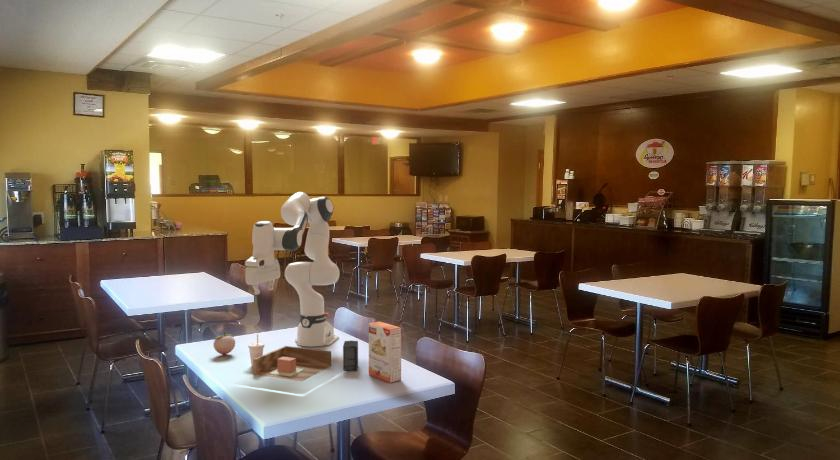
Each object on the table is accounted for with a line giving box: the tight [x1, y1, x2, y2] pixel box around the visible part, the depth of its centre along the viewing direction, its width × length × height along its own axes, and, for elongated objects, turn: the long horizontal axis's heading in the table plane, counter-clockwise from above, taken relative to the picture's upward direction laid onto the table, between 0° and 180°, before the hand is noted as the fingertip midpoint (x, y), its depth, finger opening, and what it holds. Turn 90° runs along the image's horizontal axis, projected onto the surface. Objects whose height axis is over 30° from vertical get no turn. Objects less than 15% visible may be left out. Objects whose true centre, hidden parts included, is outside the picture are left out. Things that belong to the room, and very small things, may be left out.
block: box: [277, 357, 296, 373], centre depth 236 cm, size 6×4×5 cm, turn 69°
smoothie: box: [247, 333, 265, 368], centre depth 243 cm, size 6×6×14 cm
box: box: [342, 340, 359, 372], centre depth 243 cm, size 8×6×11 cm
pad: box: [269, 368, 305, 377], centre depth 236 cm, size 10×10×1 cm
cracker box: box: [368, 321, 402, 384], centre depth 231 cm, size 14×6×21 cm, turn 40°
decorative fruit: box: [213, 332, 236, 356], centre depth 261 cm, size 9×8×10 cm
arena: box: [252, 345, 332, 382], centre depth 238 cm, size 22×22×7 cm
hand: (264, 292), depth 252 cm, fingers open, 8 cm apart
